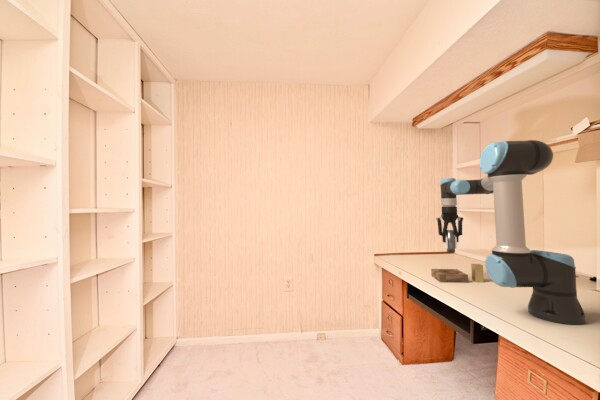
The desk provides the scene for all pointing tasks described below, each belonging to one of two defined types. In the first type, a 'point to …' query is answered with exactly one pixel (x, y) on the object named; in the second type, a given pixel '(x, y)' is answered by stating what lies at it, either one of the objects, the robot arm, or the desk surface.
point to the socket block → (449, 275)
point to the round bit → (451, 241)
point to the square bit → (477, 273)
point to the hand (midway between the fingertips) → (450, 248)
